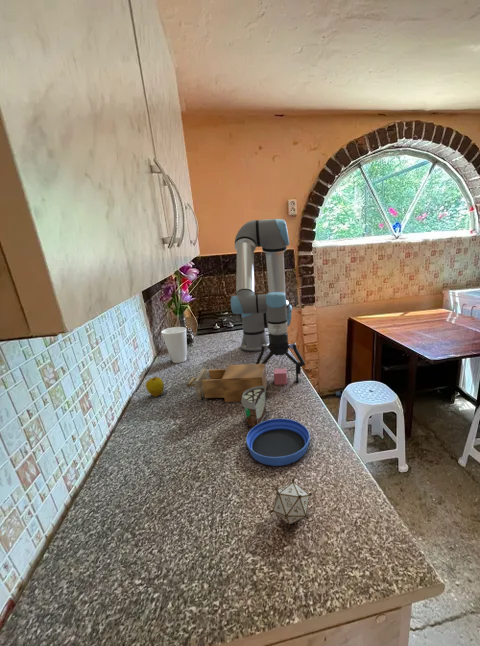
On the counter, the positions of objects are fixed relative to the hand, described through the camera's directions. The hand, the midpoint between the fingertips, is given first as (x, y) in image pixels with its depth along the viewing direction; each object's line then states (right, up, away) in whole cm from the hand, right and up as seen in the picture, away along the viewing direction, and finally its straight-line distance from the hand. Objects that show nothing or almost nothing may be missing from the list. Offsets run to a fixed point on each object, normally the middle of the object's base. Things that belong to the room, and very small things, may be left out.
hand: (281, 381), depth 128 cm
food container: (-9, -10, -26) cm, 29 cm away
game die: (+4, -23, -62) cm, 66 cm away
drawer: (-26, -3, -8) cm, 27 cm away
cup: (-52, +8, +29) cm, 61 cm away
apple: (-49, -5, -6) cm, 50 cm away
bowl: (0, -15, -39) cm, 42 cm away
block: (0, 0, 0) cm, 0 cm away
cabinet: (-13, -4, -8) cm, 16 cm away
